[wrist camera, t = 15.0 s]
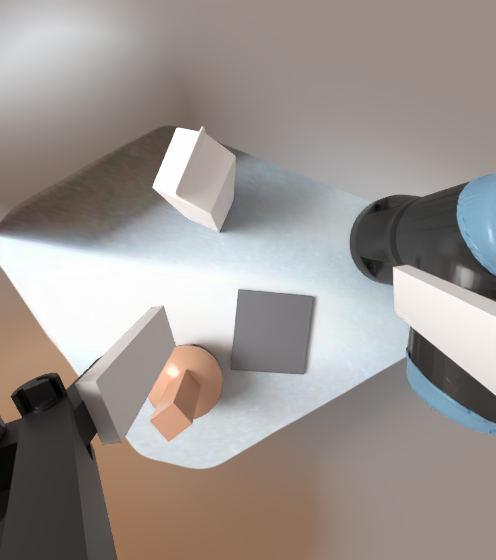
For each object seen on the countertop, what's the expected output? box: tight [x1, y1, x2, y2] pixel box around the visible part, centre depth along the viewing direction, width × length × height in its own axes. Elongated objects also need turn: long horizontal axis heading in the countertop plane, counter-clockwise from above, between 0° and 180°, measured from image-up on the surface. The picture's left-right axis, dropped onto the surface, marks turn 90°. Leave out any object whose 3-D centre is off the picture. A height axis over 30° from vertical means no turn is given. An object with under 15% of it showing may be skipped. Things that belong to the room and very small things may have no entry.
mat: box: [231, 289, 313, 374], centre depth 45 cm, size 13×14×1 cm
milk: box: [153, 126, 236, 232], centre depth 32 cm, size 6×6×22 cm
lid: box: [148, 345, 223, 441], centre depth 35 cm, size 12×12×10 cm
